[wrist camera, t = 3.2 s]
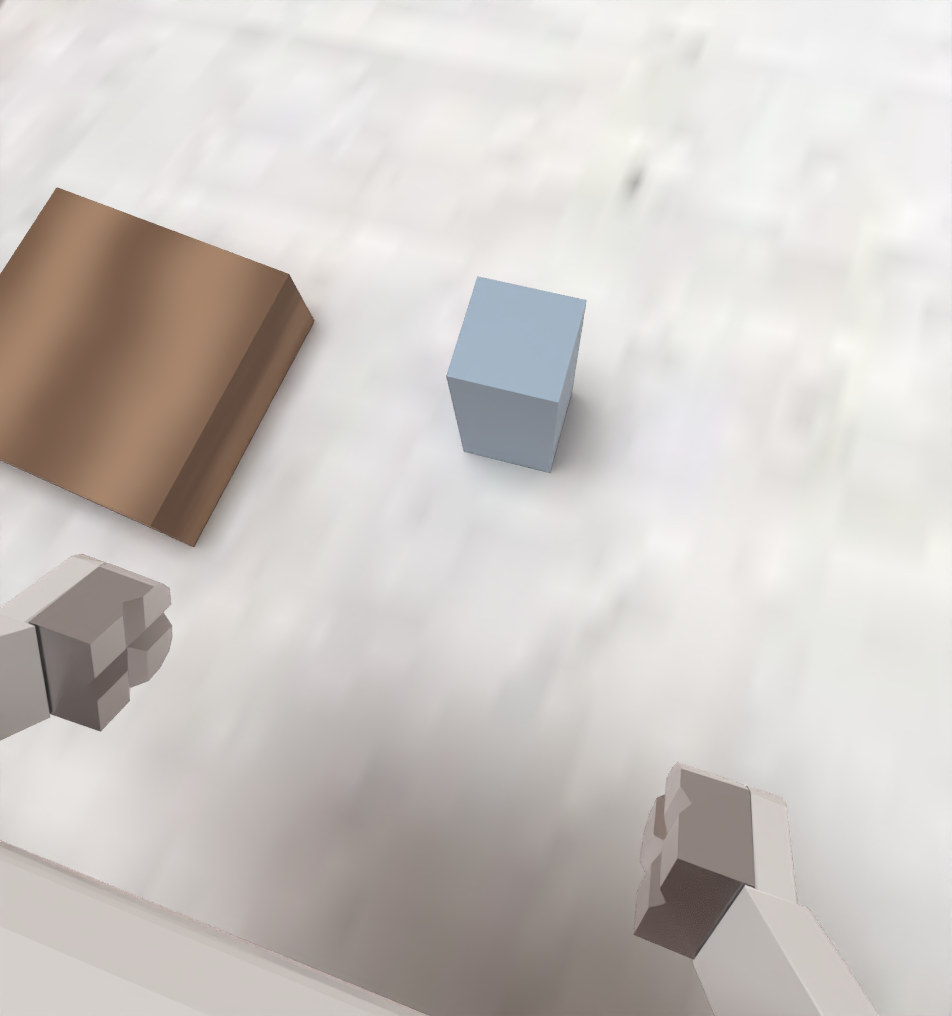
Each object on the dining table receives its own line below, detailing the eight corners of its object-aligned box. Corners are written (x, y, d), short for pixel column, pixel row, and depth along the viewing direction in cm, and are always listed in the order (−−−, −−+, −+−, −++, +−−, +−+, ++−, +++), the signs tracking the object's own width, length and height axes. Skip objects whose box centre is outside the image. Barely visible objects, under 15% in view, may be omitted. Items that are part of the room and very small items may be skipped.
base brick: (314, 320, 36) (288, 274, 32) (193, 546, 33) (149, 526, 29) (104, 240, 38) (56, 187, 34) (-25, 448, 35) (-93, 417, 31)
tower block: (550, 472, 33) (558, 402, 25) (463, 451, 34) (446, 376, 26) (571, 392, 34) (586, 300, 26) (487, 372, 35) (477, 276, 27)
